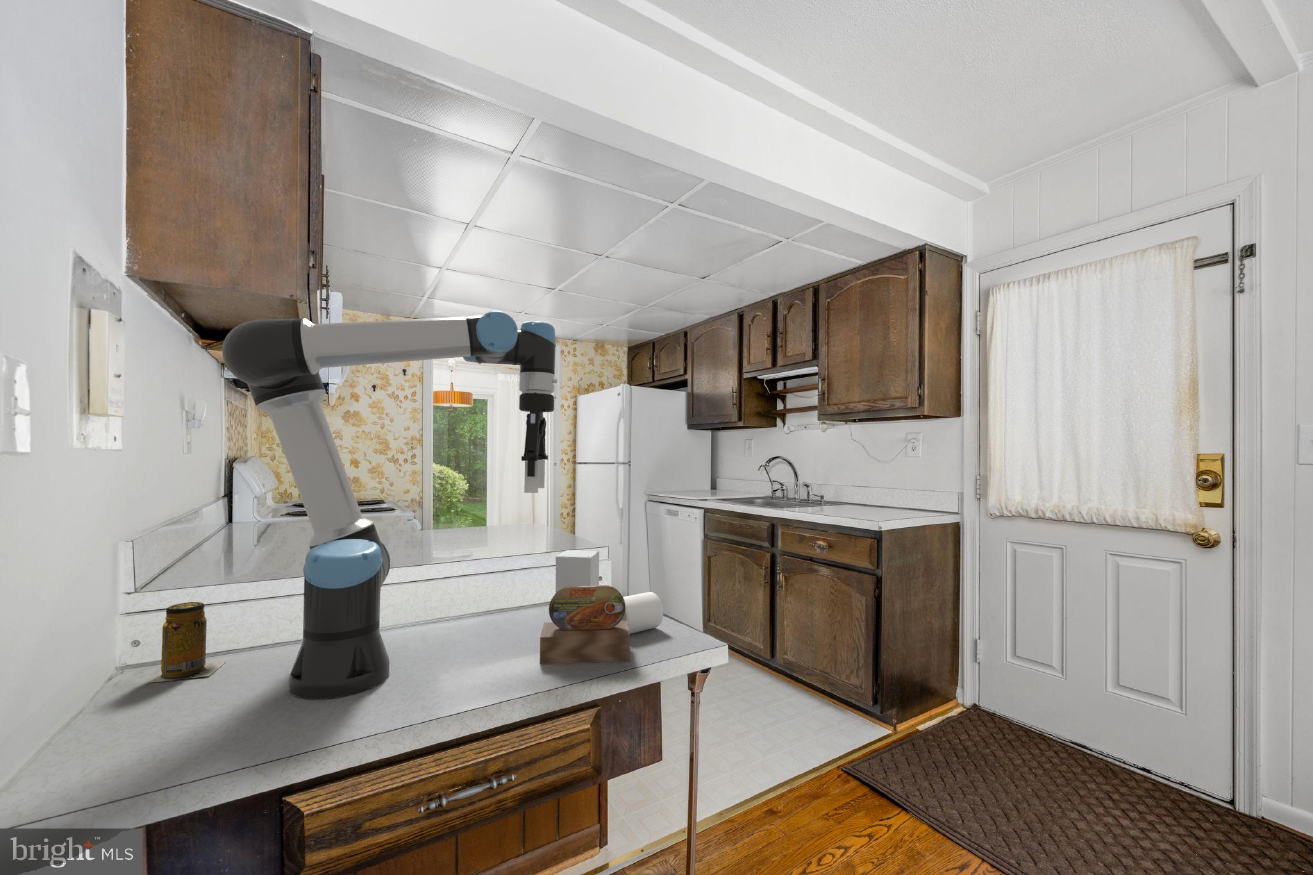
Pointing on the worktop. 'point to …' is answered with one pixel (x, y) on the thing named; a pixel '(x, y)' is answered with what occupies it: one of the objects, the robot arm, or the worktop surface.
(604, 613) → the tin
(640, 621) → the mug
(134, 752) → the worktop surface
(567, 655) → the plinth
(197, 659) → the condiment
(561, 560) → the supplement box
